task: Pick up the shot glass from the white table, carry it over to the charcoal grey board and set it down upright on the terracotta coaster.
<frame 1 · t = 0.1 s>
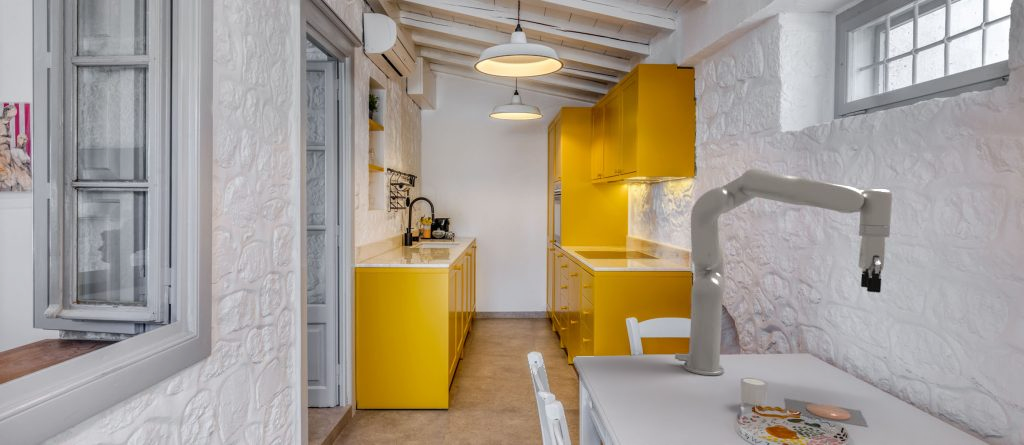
hand: (870, 289, 162), 31 cm above the table, tool pointing down, fingers open, 9 cm apart
coaster: (828, 412, 143), resting on board
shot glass: (752, 407, 150), on the table
board: (823, 417, 144), on the table
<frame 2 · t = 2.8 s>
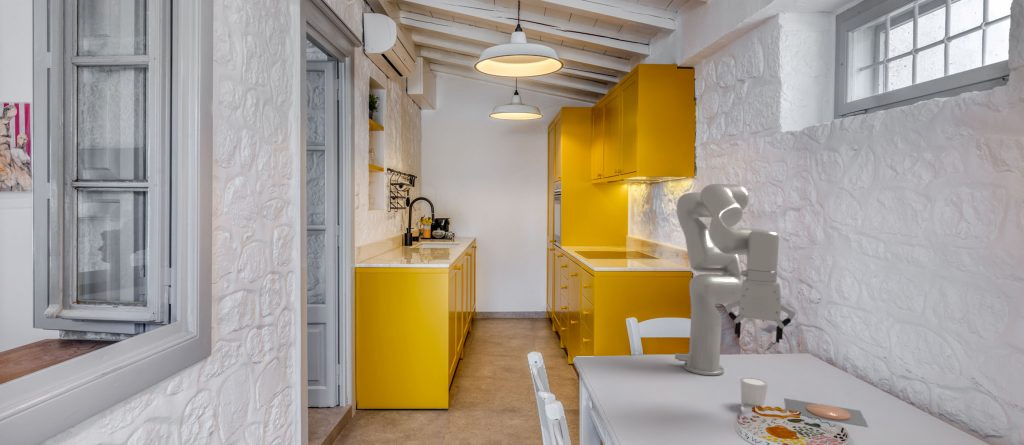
hand: (757, 339, 149), 18 cm above the table, tool pointing down, fingers open, 9 cm apart
nothing on the table moved.
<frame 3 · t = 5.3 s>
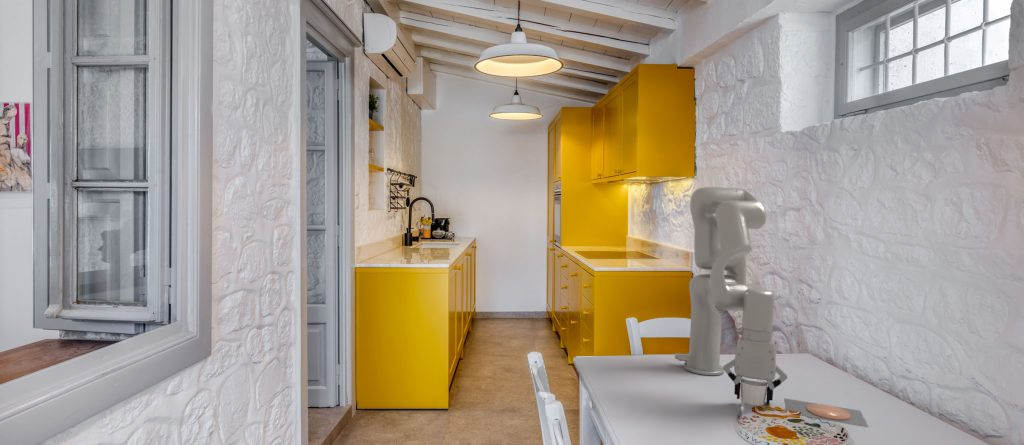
hand: (752, 399, 150), 2 cm above the table, tool pointing down, fingers closed on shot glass, 6 cm apart
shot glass: (752, 407, 150), on the table, touching gripper
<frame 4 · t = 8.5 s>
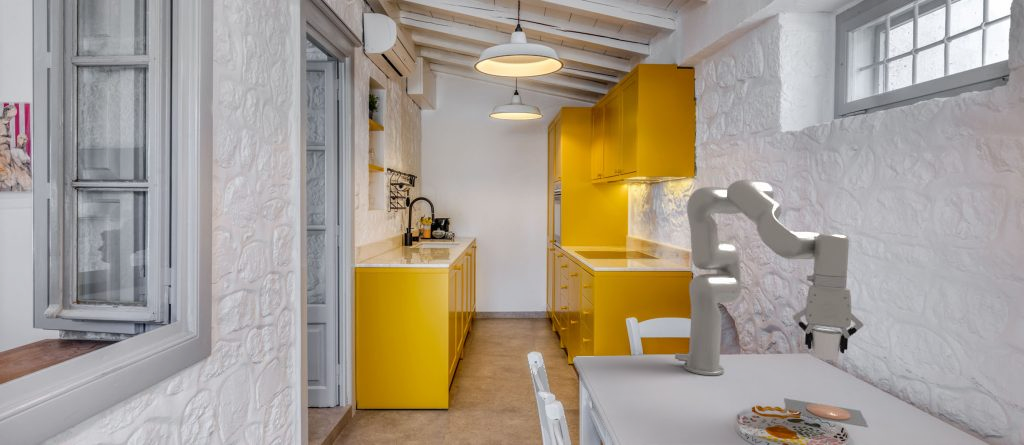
hand: (825, 349, 143), 18 cm above the table, tool pointing down, fingers closed on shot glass, 6 cm apart
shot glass: (824, 357, 143), point 16 cm above the table, touching gripper
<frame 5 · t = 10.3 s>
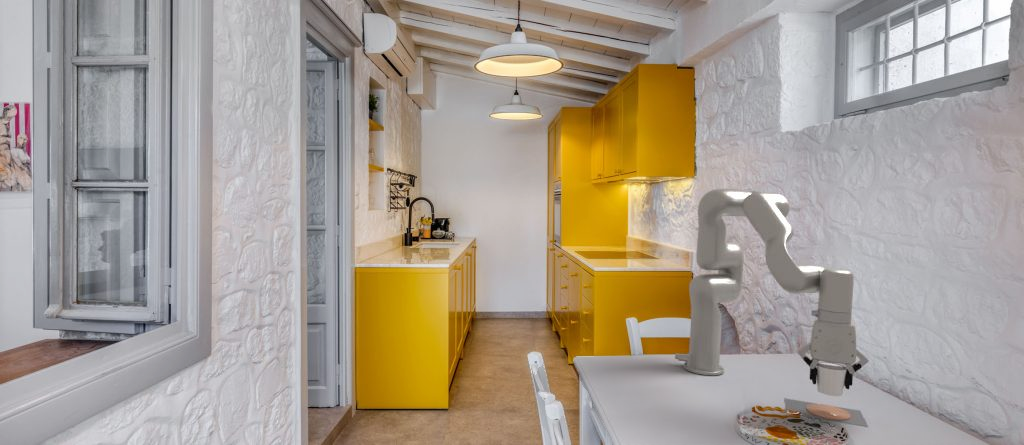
hand: (830, 384, 143), 9 cm above the table, tool pointing down, fingers closed on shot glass, 6 cm apart
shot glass: (829, 393, 143), point 7 cm above the table, touching gripper
when the fingers open (5 cm above the table, at t = 11.6 s): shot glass drops 1 cm, resting on coaster.
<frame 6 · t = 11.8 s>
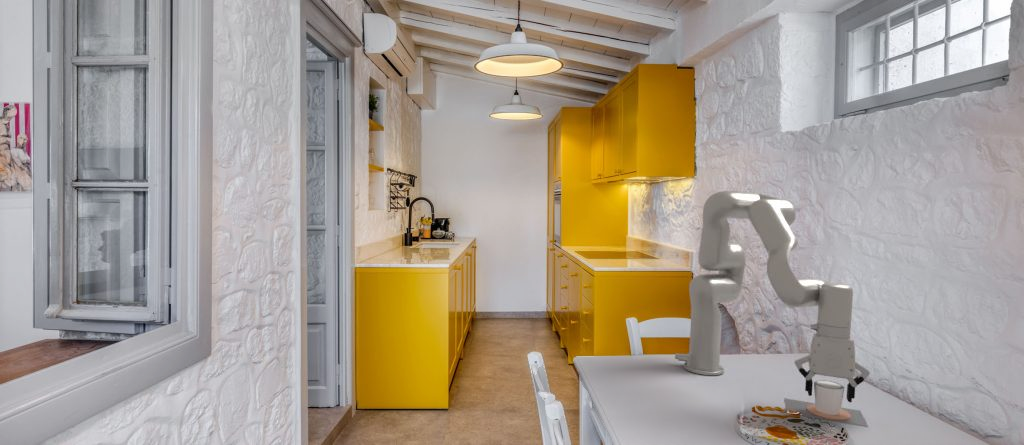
hand: (829, 397, 143), 6 cm above the table, tool pointing down, fingers open, 8 cm apart
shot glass: (827, 411, 143), point 2 cm above the table, touching coaster
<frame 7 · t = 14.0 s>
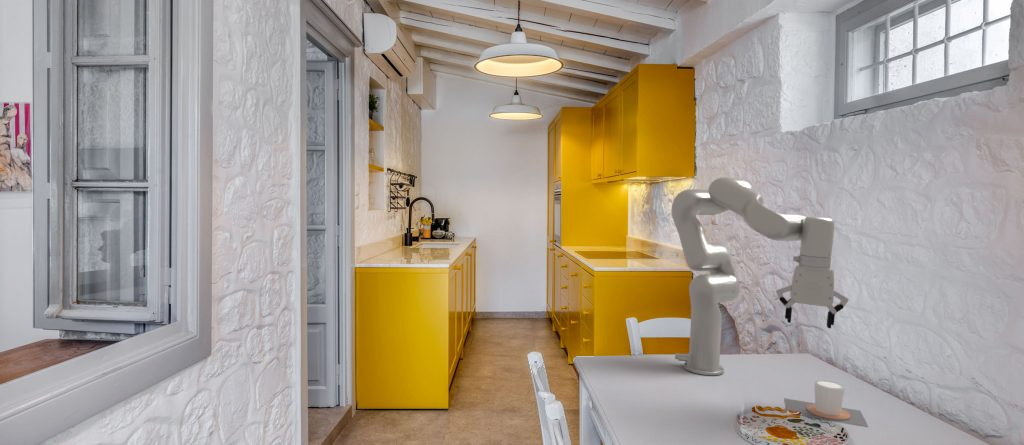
hand: (808, 324, 151), 23 cm above the table, tool pointing down, fingers open, 9 cm apart
nothing on the table moved.
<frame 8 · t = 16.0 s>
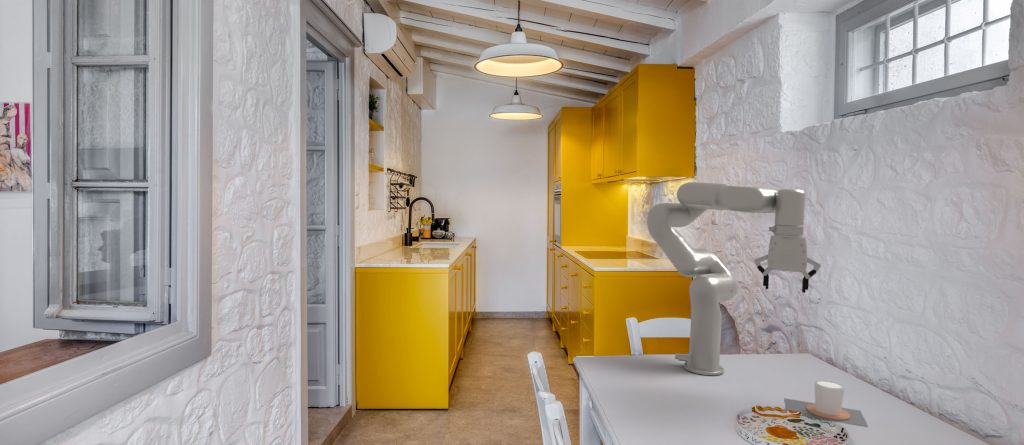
hand: (785, 290, 160), 30 cm above the table, tool pointing down, fingers open, 9 cm apart
nothing on the table moved.
at the end: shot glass inside the target area on the coaster (0.1 cm from its centre), point 0.2 cm above the coaster's base; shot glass tilted 0°; the gripper is holding nothing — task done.
